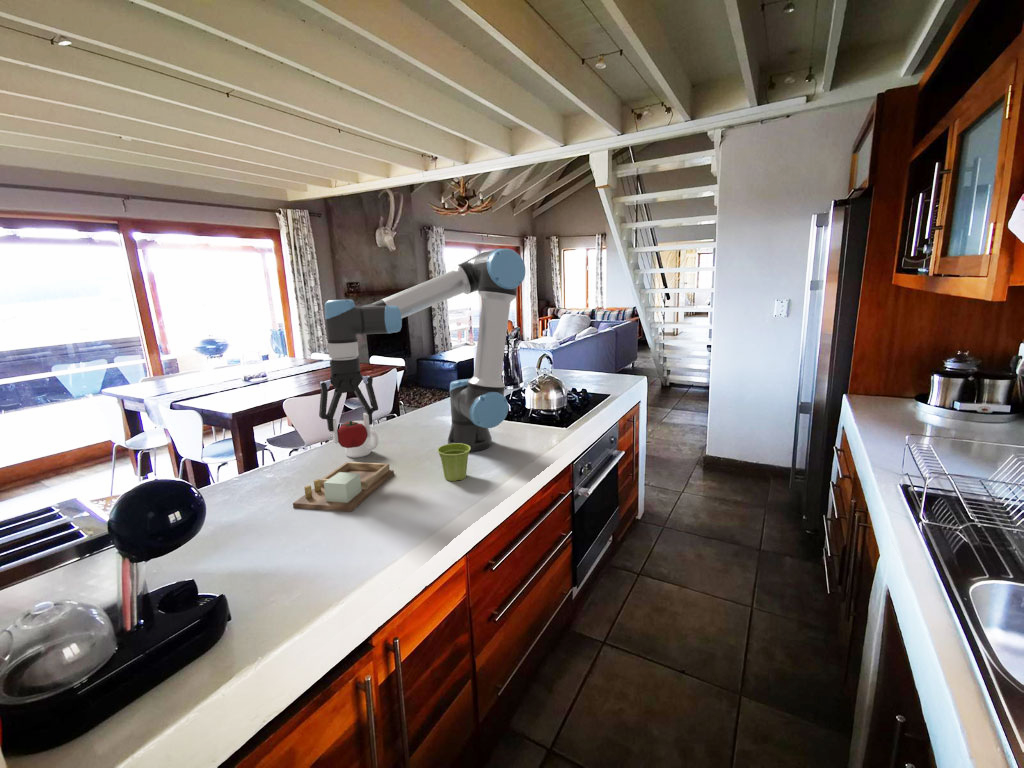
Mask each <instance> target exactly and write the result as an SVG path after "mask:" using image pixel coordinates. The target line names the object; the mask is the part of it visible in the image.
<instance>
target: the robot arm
mask: <svg viewBox="0 0 1024 768" xmlns="http://www.w3.org/2000/svg"><path fill="white" fill-rule="evenodd" d="M525 277H526V265H525V262H524V260H523V258H522V256H520V254H519V253H518V252H517V251H516V250H513V249H511V248H496V249H493V250H489V251H484V252H481V253H479V254H476V255H475V256H473V257H471V258H469V259H468V260H466V261H464V262H462V263H459V264H457V265H455V266H454V269H453V270H451V271H448V272H446V273H443V274H440V275H438V276H436V277H434V278H431V279H429V280H426V281H423V282H421V283H419V284H417V285H414V286H412V287H409V288H406V289H404V290H402V291H399V292H397V293H394V294H392V295H389V296H387V297H385V298H382V299H380V300H377V301H375V302H372V303H369V304H364V305H362V306H356V304H355V302H354V300H353V299H329V300H327V301H326V302H325V303H324V320H325V329H326V338H327V346H328V347H327V349H328V357H329V358H330V360H329V365H330V366H329V368H330V377H329V379H328V380H325V381H319V383H318V384H319V387H320V397H319V399H320V400H319V409H318V410H319V413H318V416H319V418H320V419H321V420H326V423H327V430H328V431H329V432H330V433H331V434H332V442H333V443H334V444H336V445H337V444H339V443H338V434H337V431H338V427H337V426H338V425H337V419H335V417H334V416H335V414H336V411H337V408H338V406H339V402H340V399H341V398H342V395H343V394H346V393H349V392H350V393H355V396H356V397H357V399H358V400H359V402H360V404H361V406H362V407H363V409H364V411H365V412H363V413H362V415H363V421H364V427H365V428H366V430H367V437H370V438H371V434H370V429H371V428H370V427H371V426H370V425H373V413H374V412H375V411H379V405H378V402H377V398H376V394H375V390H374V387H373V380H374V378H373V377H372V376H370V375H366V376H365V375H362V373H361V365H360V358H358V357H359V354H360V353H359V343H358V335H359V336H360V335H361V336H363V335H375V334H377V335H379V334H380V335H381V334H393V333H398V332H401V329H402V326H403V324H402V323H403V319H404V318H407V317H409V316H411V315H414V314H416V313H418V312H420V311H423V310H425V309H427V308H430V307H432V306H435V305H437V304H439V303H443V302H444V301H446V300H447V301H448V300H449V299H451V298H453V297H454V298H455V297H456V296H458V295H461V294H463V293H464V294H466V295H469V294H471V293H473V292H478V294H479V295H480V297H481V309H480V315H479V316H480V317H479V324H478V325H479V326H478V334H477V335H478V336H477V344H476V351H475V359H474V362H475V363H474V370H473V376H472V377H471V378H465V379H464V378H463V379H457V380H453V381H451V382H450V383H449V397H450V398H449V399H450V402H449V403H450V416H451V426H450V429H449V430H450V431H449V434H448V438H447V444H453V443H462V444H466V445H469V446H470V447H471V449H470V451H469V453H471V452H478V451H483V450H487V449H488V448H490V447H491V446H492V444H493V441H492V440H493V439H492V435H491V433H490V430H489V429H492V428H496V427H498V426H499V425H500V424H502V422H504V421H505V419H506V418H507V415H508V412H509V403H508V400H507V398H506V397H505V388H506V385H505V383H504V382H503V381H502V376H503V375H502V372H503V366H504V359H505V358H504V356H505V350H506V349H505V347H506V340H507V333H508V326H509V325H508V324H509V315H510V307H511V302H512V301H513V300H515V299H516V298H517V292H518V287H519V286H520V285H521V284H522V283H523V282H524V280H525ZM362 381H363V384H364V385H365V389H366V392H367V395H368V400H369V403H370V405H369V403H368V401H367V399H366V398H365V396H364V394H363V393H362V390H361V388H360V384H361V383H362ZM331 385H332V387H334V391H333V395H332V399H331V401H330V404H329V407H328V410H327V406H328V396H329V395H328V394H329V389H330V386H331Z"/></svg>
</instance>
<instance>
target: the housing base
mask: <svg viewBox="0 0 1024 768" xmlns="http://www.w3.org/2000/svg"><path fill="white" fill-rule="evenodd" d="M339 472H346V473H360V479H361V489H362V491H361V492H360V493H359V494H358V495H356V496H355V497H354V498H353V499H352V500H350V501H349V502H348V503H343V502H328V501H326V498H325V489H324V482H326V481H327V480H329V479H330V478H331V477H333V476H334V475H336V474H337V473H339ZM394 475H395V470H394V469H391V468H390V463H383V462H382V463H380V462H379V463H378V462H359V461H358V462H357V461H345V462H344V463H343V464H341V465H340V466H339V467H337V468H336V469H334V470H332V471H331V472H330V473H328V474H327V475H325V476H324V477H322V478H320V479H314V480H313V486H314V488H313V489H312V485H305V486H304V495H303V496H301V497H299V498H298V499H297V500H295V501H294V502H292V507H293V508H294V509H296V508H297V509H309V510H321V511H337V512H339V511H340V512H348V513H349V512H352V511H353V510H355V509H357V507H359V505H360V504H362V503H363V502H364V501H365V500H366V499H367V498H368V497H370V496H371V495H372V494H374V492H375V491H377V490H378V489H379V488H380V487H381V486H382V485H384V483H386V482H387V481H388V480H389V479H390V478H391V477H393V476H394Z"/></svg>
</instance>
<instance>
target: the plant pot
mask: <svg viewBox="0 0 1024 768" xmlns="http://www.w3.org/2000/svg"><path fill="white" fill-rule="evenodd" d="M470 449H471V447H470V446H469V445H466V444H462V443H453V444H448V443H447V444H443V445H441V446H439V447H438V448H437V453H438V454H439V457H440V461H441V466H442V470H443V471H442V472H443V476H444V479H445V480H447V481H448V482H449V481H450V482H457V481H462V480H465V479H466V477H467V472H468V471H467V470H468V459H469V454H470V452H469V451H470Z"/></svg>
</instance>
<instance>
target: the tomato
mask: <svg viewBox="0 0 1024 768" xmlns="http://www.w3.org/2000/svg"><path fill="white" fill-rule="evenodd" d="M337 434H338V443H337V444H339V445H340V446H341V447H342V448H344V449H345V448H353V447H359V446H361V445H363V443H364V442H365V441H366V439H367V430H366V428H365V427H364V425H363V424H359V423H356V422H352V420H349V421H347V422H345V423H343V424H341V425H340V427H339V428H337Z"/></svg>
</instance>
